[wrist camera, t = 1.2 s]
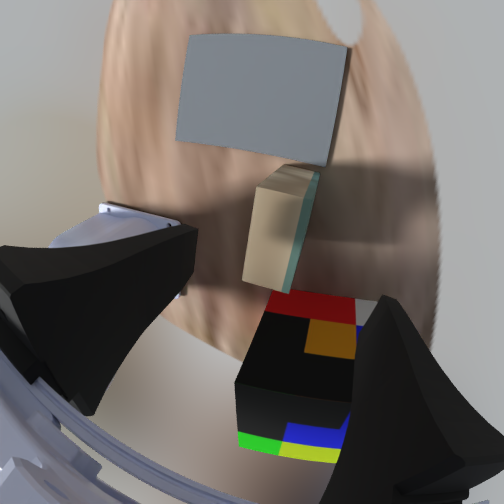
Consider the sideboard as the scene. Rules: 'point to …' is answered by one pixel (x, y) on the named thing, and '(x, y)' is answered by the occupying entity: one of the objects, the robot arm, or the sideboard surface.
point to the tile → (279, 227)
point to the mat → (261, 94)
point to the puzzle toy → (300, 375)
